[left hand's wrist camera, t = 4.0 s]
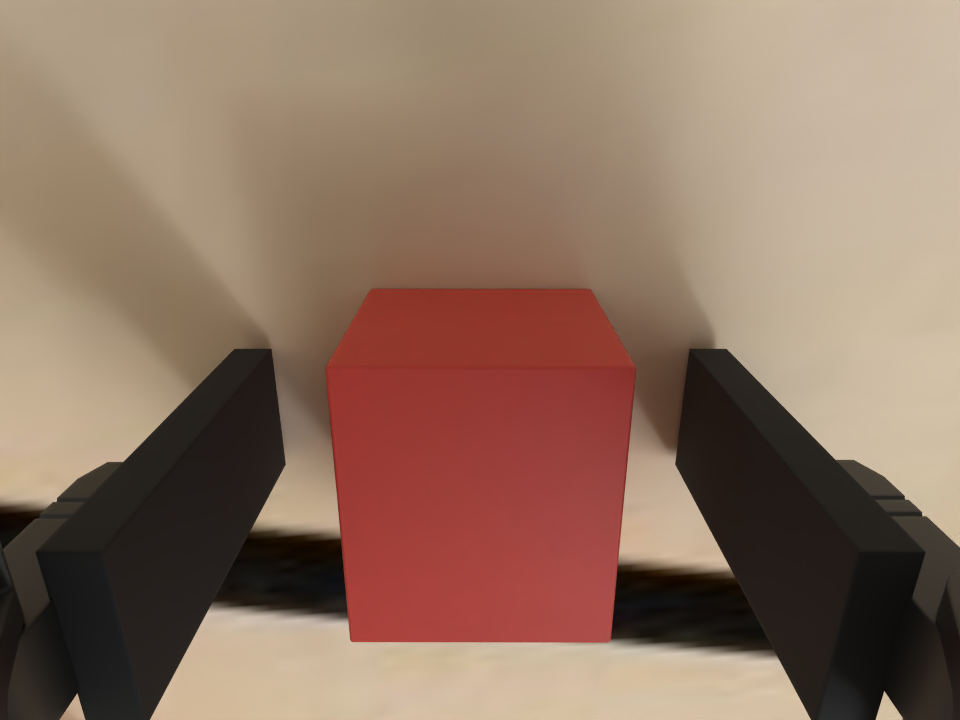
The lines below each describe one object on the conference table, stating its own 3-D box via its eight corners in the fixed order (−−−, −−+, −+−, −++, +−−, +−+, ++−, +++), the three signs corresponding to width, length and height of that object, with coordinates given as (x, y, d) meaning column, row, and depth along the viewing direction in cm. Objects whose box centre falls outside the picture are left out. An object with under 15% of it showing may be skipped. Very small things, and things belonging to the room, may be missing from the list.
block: (369, 288, 13) (324, 367, 9) (591, 288, 13) (637, 367, 9) (383, 503, 15) (349, 643, 11) (577, 503, 15) (611, 643, 11)
